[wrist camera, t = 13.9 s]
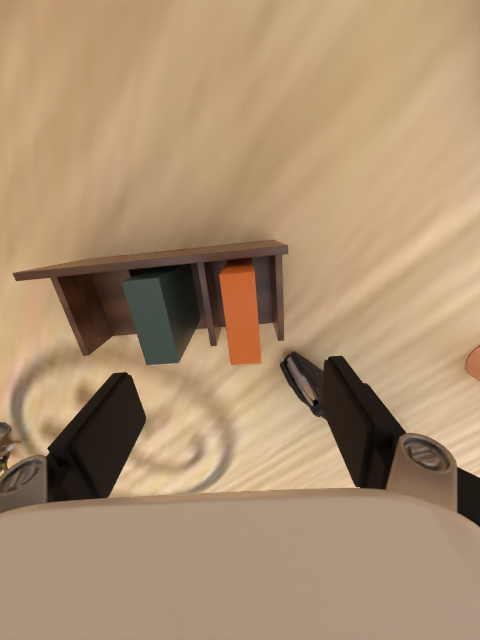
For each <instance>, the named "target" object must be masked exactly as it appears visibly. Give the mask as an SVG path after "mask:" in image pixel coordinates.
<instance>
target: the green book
mask: <svg viewBox="0 0 480 640" xmlns="http://www.w3.org/2000/svg"><path fill="white" fill-rule="evenodd" d="M122 285H123V289H124V292H125V295H126V299H127V302H128V305H129V309H130V312H131V315H132V318H133V322H134V325H135V328H136V332H137V335H138V338H139V342H140V345H141V348H142V351H143V355H144V358H145V361H146V365H150V366H156V365H170V364H178V363H179V362H180V360H181V358H182V356H183V354H184V352H185V350H186V348H187V346H188V344H189V342H190V340H191V338H192V336H193V334H194V332H195V330H196V328H197V326H198V324H199V322H200V315H199V309H198V303H197V298H196V292H195V287H194V281H193V276H192V270H191V264H183V265H173V266H163V267H155V268H152V269H150V270H148V271H145V272H143V273H140V274H138V275H136V276H133V277H131V278H129V279H126V280H124V281H122Z"/></svg>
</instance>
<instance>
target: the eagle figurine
mask: <svg viewBox="0 0 480 640" xmlns="http://www.w3.org/2000/svg"><path fill="white" fill-rule="evenodd" d="M9 430H10V428H9V427H8V425H6V423H3V422H1V423H0V458H1V457H3V458H2V459H0V472H1V471H2V470H4V472H6V471H7V470H8V468H7V460H8V458H9V456H10V452H9V451H10V450H11V449H13V448H14V447H15V446H16V445H17V444H19V443H20V442H17V443H12V444H10V445H8V446H6V447H2V446H3V445H4V443H3V444H2V445H1V442H2V440H3V438H4V436H5V435H6V434H7V433H8V432H9Z"/></svg>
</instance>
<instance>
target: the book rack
mask: <svg viewBox="0 0 480 640" xmlns="http://www.w3.org/2000/svg"><path fill="white" fill-rule="evenodd" d="M283 254H288V245H286V244H283V243H281V242H278V241H275V240H268V241H258V242H249V243H239V244H229V245H220V246H210V247H200V248H191V249H181V250H171V251H162V252H152V253H142V254H133V255H123V256H113V257H104V258H94V259H85V260H79V261H74V262H69V263H63V264H58V265H53V266H48V267H42V268H37V269H32V270H27V271H21V272H16V273H13V276H14V278H15V280H16V281H22V280H32V279H42V278H51V280H52V283H53V285H54V288H55V290H56V292H57V295H58V297H59V299H60V302H61V304H62V307H63V309H64V311H65V314H66V316H67V318H68V321H69V323H70V326H71V328H72V330H73V333H74V335H75V337H76V340H77V342H78V345H79V347H80V349H81V352H82V354H83V356H88V355H90V354H91V353H92V352H94V351H95V350H96V349H97V348H98V347H100V346H101V345H102V344H103V343H105V342H106V341H107V340H108V339H110V338H111V337H112V336H116V335H128V334H137V332H136V328H135V325H134V322H133V318H132V315H131V312H130V309H129V305H128V302H127V299H126V295H125V292H124V289H123V285H122V281H124V280H126V279H129V278H131V277H133V276H136V275H138V274H140V273H143V272H145V271H148V270H150V269H152V268H155V267H163V266H173V265H183V264H191V270H192V276H193V281H194V287H195V292H196V298H197V303H198V309H199V315H200V322H199V324H198V326H197V328H196V329H202V328H208V333H209V338H210V344H211V346H217V342H218V338H219V334H220V330H221V327H226V323H225V316H224V308H223V301H222V293H221V286H220V278H219V275H220V273H221V271H222V269H223V268H224V266H225V264H226V263H227V261H228V260H233V259H243V258H252V261H253V266H254V271H255V283H256V296H257V310H258V324H264V323H273V325H274V328H275V332H276V335H277V339H278V341H283V340H284V314H283V278H282V255H283Z"/></svg>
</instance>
